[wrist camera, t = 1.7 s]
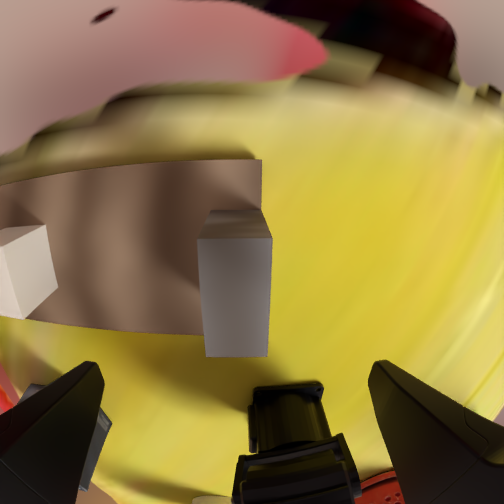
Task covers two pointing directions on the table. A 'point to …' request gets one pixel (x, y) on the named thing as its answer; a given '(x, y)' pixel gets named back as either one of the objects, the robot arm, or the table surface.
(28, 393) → the small box
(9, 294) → the off-white block
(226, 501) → the reusable coffee cup
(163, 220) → the walnut strip
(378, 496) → the plant pot
